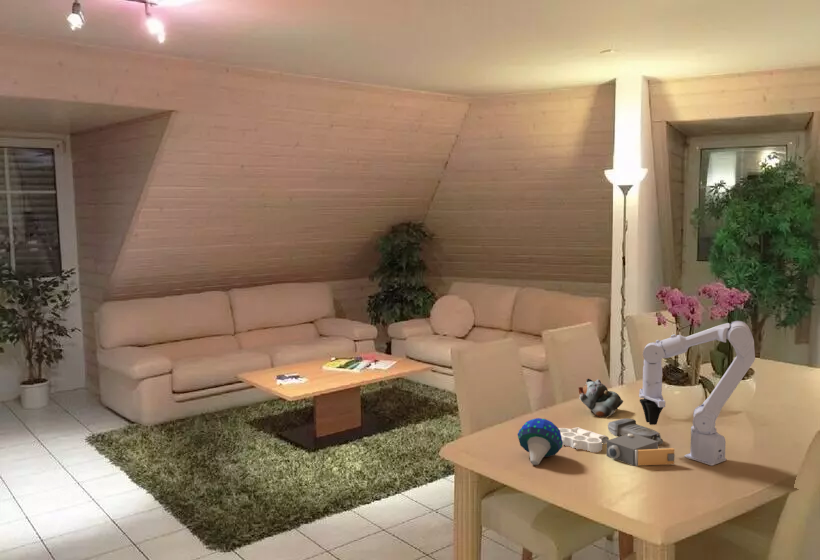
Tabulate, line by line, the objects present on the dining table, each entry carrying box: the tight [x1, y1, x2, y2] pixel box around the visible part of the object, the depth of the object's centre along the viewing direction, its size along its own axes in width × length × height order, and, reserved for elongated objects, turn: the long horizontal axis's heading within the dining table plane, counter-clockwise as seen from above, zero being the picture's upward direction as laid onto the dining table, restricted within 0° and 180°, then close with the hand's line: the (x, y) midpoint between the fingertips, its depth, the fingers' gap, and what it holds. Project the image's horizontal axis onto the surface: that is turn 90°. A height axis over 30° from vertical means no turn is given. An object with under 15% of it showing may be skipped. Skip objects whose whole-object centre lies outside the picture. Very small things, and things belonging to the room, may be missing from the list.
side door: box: [634, 447, 675, 467], centre depth 208 cm, size 2×12×5 cm, turn 95°
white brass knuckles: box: [558, 426, 610, 453], centre depth 228 cm, size 3×18×15 cm
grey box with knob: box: [606, 433, 659, 467], centre depth 215 cm, size 10×13×6 cm
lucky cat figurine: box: [577, 378, 624, 418], centre depth 261 cm, size 15×12×14 cm
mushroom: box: [517, 417, 564, 466], centre depth 214 cm, size 14×14×15 cm
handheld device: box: [607, 418, 664, 445], centre depth 232 cm, size 10×20×5 cm, turn 33°
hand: (651, 423), depth 218 cm, fingers closed
